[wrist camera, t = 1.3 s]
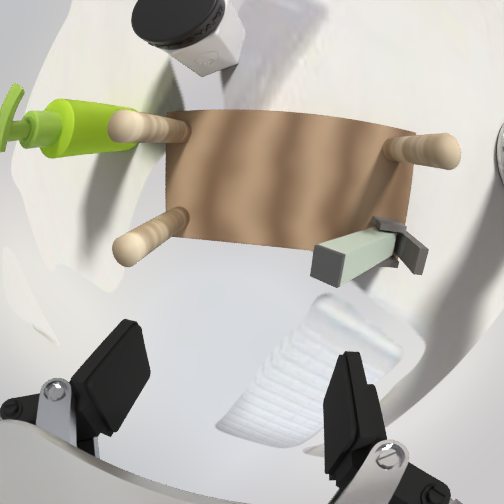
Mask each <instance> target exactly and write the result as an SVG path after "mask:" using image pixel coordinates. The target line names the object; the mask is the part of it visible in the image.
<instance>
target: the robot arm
mask: <svg viewBox="0 0 504 504" xmlns="http://www.w3.org/2000/svg"><path fill="white" fill-rule="evenodd" d="M497 160H498V167H499V172H500V176H501V179H502V182H503V184H504V124H503V126H502V128H501V130H500V133H499V137H498V144H497ZM149 377H150V367H149V362H148V358H147V353H146V349H145V344H144V339H143V334H142V329H141V327H140V326H139V325H138V323H137V322H135V321H131V320H127V319H124V320H122V321H121V322H120V323H119V324H118V326H117V327H116V328H115V329H114V330H113V331H112V332H111V333H110V334H109V336H108V337H107V338H106V339H105V340H104V341H103V342H102V343H101V345H100V346H99V347H98V348H97V349H96V350H95V351H94V352H93V353H92V355H91V356H90V357H89V358H88V359H87V360H86V361H85V362H84V364H83V365H82V366H81V367H80V368H79V369H78V371H77V372H76V373H75V374H74V375H73V376H72V378H71V380H70V382H68V381H66V380H65V379H62V378H54V379H51V380H48V381H47V382H46V383H45V384H44V385H43V386H42V388H41V391H40V393H39V394H34V395H29V396H23V397H17V398H11V399H8V400H7V401H5V402H4V403H3V404H2V406H1V408H0V504H247V503H240V502H234V501H228V500H223V499H218V498H213V497H208V496H204V495H199V494H195V493H191V492H187V491H183V490H180V489H177V488H173V487H170V486H167V485H163V484H160V483H157V482H154V481H152V480H149V479H146V478H143V477H140V476H138V475H135V474H133V473H130V472H128V471H125V470H123V469H120V468H118V467H116V466H113V465H111V464H109V463H107V462H105V461H102V460H100V457H99V448H98V438H97V437H98V435H99V434H100V433H103V434H105V435H107V436H110V437H111V436H112V434H113V432H117V431H118V430H119V428H120V426H121V424H122V423H123V421H124V419H125V418H126V416H127V414H128V413H129V411H130V409H131V408H132V406H133V404H134V402H135V401H136V399H137V398H138V396H139V394H140V393H141V391H142V389H143V388H144V386H145V384H146V383H147V381H148V379H149ZM323 413H324V446H325V473H326V474H329V480H336V486H337V487H339V490H338V491H337V492H336V494H335V495H334V496H333V498H332V499H331V500H330V502H329V503H328V504H462V503H461V502H460V501H458V500H457V499H455V500H452V499H451V498H450V497H451V494H450V489H449V488H448V486H447V485H446V484H444V483H443V482H441V481H440V480H438V479H436V478H434V477H432V476H431V475H429V474H427V473H426V472H424V471H422V470H421V469H419V468H417V467H416V466H414V465H413V464H411V463H409V452H408V450H407V448H406V447H405V446H404V445H403V444H401V443H400V442H398V441H395V440H387V436H386V431H385V426H384V422H383V417H382V412H381V408H380V404H379V399H378V395H377V391H376V388H375V386H374V385H373V384H367V381H366V377H365V373H364V368H363V364H362V360H361V356H360V353H359V352H348V351H345V352H344V354H343V355H339V357H338V359H337V363H336V366H335V369H334V372H333V375H332V378H331V381H330V384H329V386H328V389H327V392H326V395H325V398H324V402H323Z"/></svg>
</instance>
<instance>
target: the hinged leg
mask: <svg viewBox="0 0 504 504" xmlns="http://www.w3.org/2000/svg"><path fill="white" fill-rule="evenodd" d="M396 235H397V232H393V231H386V230H380V229H379V228H378V227H377V226H375V227H371V228H368V229H365V230H362V231H359V232H355V233H352V234H349V235H346V236H343V237H339V238H336V239H333V240H330V241H326V242H323V243H320V244H317V245H314V253H313V260H312V267H311V274H310V276H311V277H313V278H316V279H318V280H320V281H322V282H325V283H327V284H329V285H331V286H334V287H336V288H338V287H340V286H341V285H343V284H345V283H347V282H348V281H350V280H352V279H353V278H355V277H357V276H359V275H360V274H362V273H364V272H365V271H367V270H369V269H370V268H372V267H374V266H375V265H377V264H379V263H380V262H382V261H383V260H385V259H387V258H388V257H390V256H392V254H393V250H394V245H395V240H396Z"/></svg>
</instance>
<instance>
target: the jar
mask: <svg viewBox="0 0 504 504" xmlns="http://www.w3.org/2000/svg"><path fill="white" fill-rule="evenodd" d="M131 23H132V27H133V30H134V32H135V33H136V34H137V35H138V36H139V37H140V38H141V39H143V40H145V41H146V42H148V44H150V45H152V46H155V47H157V48H160V49H161V50H163V51H165V52H166V53H168V54H169V55H171V56H172V57H174V58H175V59H177V60H178V61H180V62H181V63H182V64H184V65H185V66H187V67H188V68H190V69H191V70H193V71H194V72H196V73H197V74H198V75H200V76H201V77H204V76H206V75H209V74H211V73H214V72H216V71H219V70H222V69H224V68H227V67H230V66H233V65H236V64H238V62H239V58H240V54H241V50H242V46H243V43H244V39H245V35H246V31H245V29H244V27H243V25H242V23H241V21H240V19H239V17H238V15H237V12H236V10H235V9H234V6H233V4H232V3H231V1H230V0H138V1H137V3H136V5H135V7H134V9H133V12H132V18H131Z"/></svg>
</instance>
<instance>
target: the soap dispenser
mask: <svg viewBox="0 0 504 504" xmlns="http://www.w3.org/2000/svg"><path fill="white" fill-rule="evenodd" d="M23 95H24V89H23V88H22V87H21V86H19V85H18V84H16V83H14V84H13V86H12V87H11V89H10V90H9V92H8V94H7V96H6V98H5V100H4V102H3V104H2V107H1V110H0V152H5V149H6V144H7V142H8V141H16V140H19V141H20V144H21V146H22V147H23V148H26V149H29V148H37V147H40V149H41V151H42V153H43V154H44V155H45V156H46V157H48V158H60V157H67V156H75V155H83V154H93V153H103V152H115V151H126V150H129V149H131V148H133V147H134V146H135V145H136V144H137V143H116V142H114V141H112V140H111V139H110V137H109V135H108V131H107V127H108V122H109V120H110V118H111V116H112V115H113V114H114V113H115V112H117V111H119V110H130V111H136V110H134V109H132V108H127V107H121V106H115V105H108V104H102V103H95V102H87V101H79V100H69V99H57V100H54V101H53V102H51V103H50V104H49V105H48V106H47V107H46V109H45V110H44V111H29V112H27V113H26V114H25V115H24V117H23V118H22V120H21V121H12V120H13V117H14V114H15V111H16V109H17V107H18V104H19V102H20V100H21V99H22V97H23ZM136 112H137V111H136Z"/></svg>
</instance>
